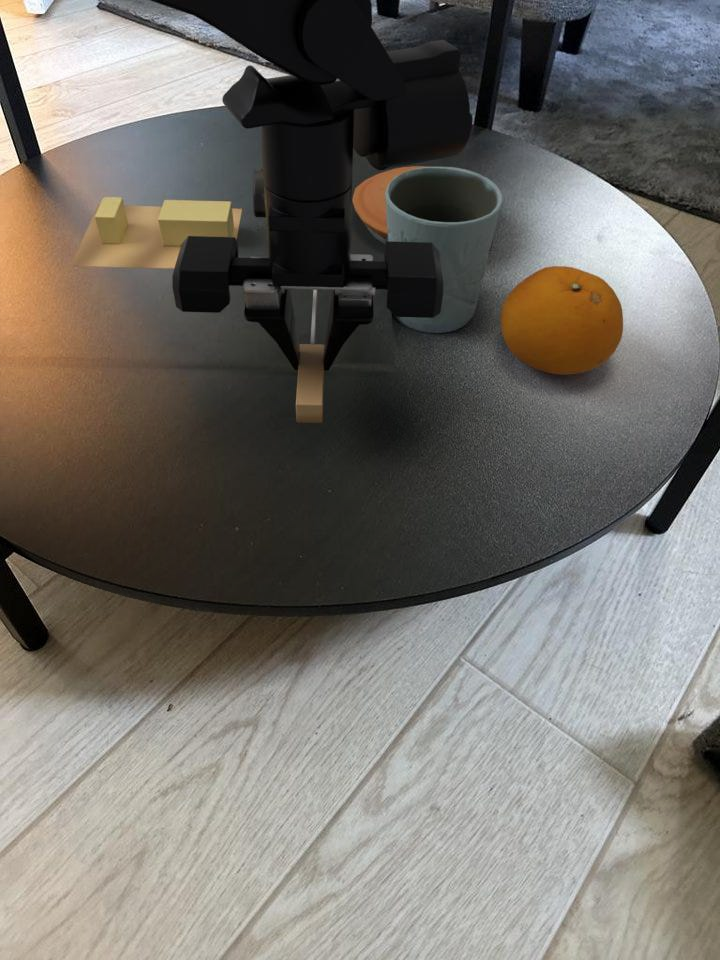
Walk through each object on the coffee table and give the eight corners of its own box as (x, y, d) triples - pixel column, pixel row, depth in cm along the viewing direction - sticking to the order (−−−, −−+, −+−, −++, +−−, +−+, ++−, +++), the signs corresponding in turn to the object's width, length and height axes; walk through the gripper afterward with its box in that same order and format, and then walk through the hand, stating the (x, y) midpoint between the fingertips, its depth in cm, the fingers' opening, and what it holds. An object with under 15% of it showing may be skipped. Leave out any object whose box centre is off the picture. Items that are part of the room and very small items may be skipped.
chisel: (322, 423, 56) (322, 404, 55) (296, 423, 56) (295, 404, 55) (327, 290, 67) (327, 271, 66) (305, 289, 67) (305, 271, 66)
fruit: (573, 410, 64) (599, 336, 58) (474, 356, 68) (488, 282, 62) (629, 353, 69) (658, 280, 63) (533, 307, 73) (552, 234, 67)
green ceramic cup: (502, 312, 73) (526, 197, 64) (429, 353, 68) (445, 236, 59) (430, 267, 78) (443, 154, 68) (358, 302, 73) (361, 187, 64)
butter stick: (162, 246, 76) (157, 219, 74) (168, 225, 79) (164, 199, 77) (230, 247, 77) (227, 221, 74) (234, 227, 79) (231, 201, 77)
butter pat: (101, 243, 76) (94, 216, 74) (109, 223, 79) (103, 197, 77) (120, 244, 76) (114, 217, 74) (128, 223, 79) (122, 197, 77)
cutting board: (73, 276, 74) (70, 265, 74) (100, 214, 82) (97, 204, 81) (232, 279, 75) (230, 269, 74) (243, 218, 83) (242, 208, 82)
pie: (447, 288, 75) (454, 245, 71) (324, 239, 80) (324, 196, 77) (514, 225, 84) (523, 183, 80) (398, 184, 89) (402, 143, 85)
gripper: (442, 129, 53) (421, 309, 65) (181, 121, 52) (208, 304, 64) (456, 208, 45) (430, 395, 57) (153, 200, 45) (189, 390, 57)
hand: (311, 366), depth 59 cm, fingers closed on chisel, 2 cm apart
